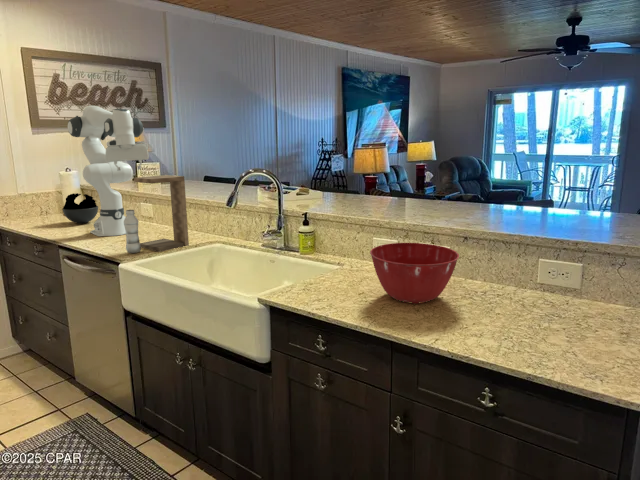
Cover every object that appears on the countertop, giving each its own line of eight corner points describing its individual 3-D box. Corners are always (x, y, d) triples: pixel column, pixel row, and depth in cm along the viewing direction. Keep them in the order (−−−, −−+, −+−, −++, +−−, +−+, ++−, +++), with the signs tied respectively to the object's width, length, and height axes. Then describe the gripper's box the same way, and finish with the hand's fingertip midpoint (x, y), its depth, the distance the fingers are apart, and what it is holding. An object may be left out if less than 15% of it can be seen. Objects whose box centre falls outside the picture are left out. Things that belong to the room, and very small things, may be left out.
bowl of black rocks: (62, 222, 308) (58, 192, 304) (96, 219, 318) (93, 190, 314) (66, 227, 291) (62, 196, 287) (102, 223, 302) (99, 193, 298)
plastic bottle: (144, 251, 229) (140, 209, 225) (134, 255, 223) (130, 211, 218) (133, 250, 231) (129, 208, 227) (123, 254, 225) (119, 211, 220)
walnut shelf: (137, 247, 237) (131, 177, 230) (169, 241, 251) (164, 174, 244) (157, 252, 227) (151, 179, 220) (188, 245, 241) (184, 176, 234)
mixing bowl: (470, 310, 150) (473, 261, 146) (378, 313, 148) (379, 264, 144) (440, 283, 177) (442, 241, 174) (363, 285, 175) (363, 243, 172)
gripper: (147, 141, 248) (150, 168, 250) (103, 143, 240) (107, 171, 242) (147, 140, 242) (151, 168, 244) (103, 142, 235) (107, 171, 237)
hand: (129, 170), depth 243 cm, fingers open, 8 cm apart
